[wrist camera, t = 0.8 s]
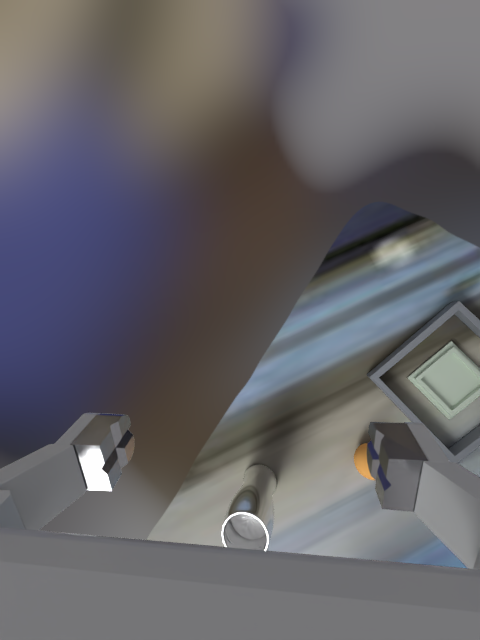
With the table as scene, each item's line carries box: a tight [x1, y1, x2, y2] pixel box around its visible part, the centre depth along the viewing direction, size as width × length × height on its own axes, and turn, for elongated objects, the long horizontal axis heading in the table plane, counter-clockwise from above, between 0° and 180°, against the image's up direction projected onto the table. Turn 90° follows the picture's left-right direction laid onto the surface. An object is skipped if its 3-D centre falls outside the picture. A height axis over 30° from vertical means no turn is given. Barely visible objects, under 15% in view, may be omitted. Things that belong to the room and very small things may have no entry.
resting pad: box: [407, 341, 480, 420], centre depth 49 cm, size 9×9×1 cm
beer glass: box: [222, 464, 277, 551], centre depth 48 cm, size 7×7×15 cm
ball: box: [354, 443, 375, 480], centre depth 49 cm, size 6×6×6 cm
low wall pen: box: [367, 301, 480, 463], centre depth 49 cm, size 18×18×2 cm
